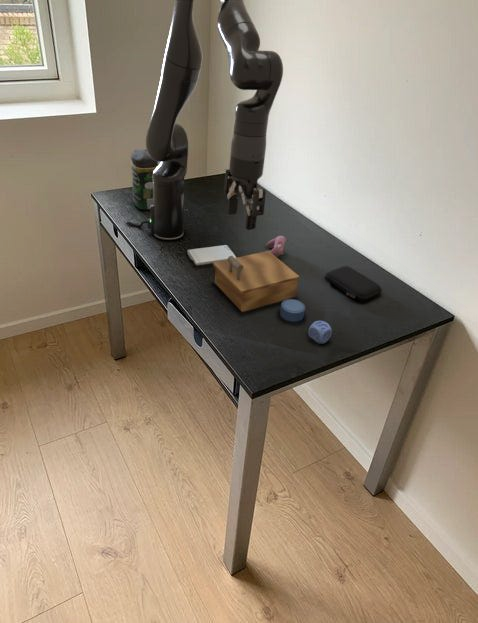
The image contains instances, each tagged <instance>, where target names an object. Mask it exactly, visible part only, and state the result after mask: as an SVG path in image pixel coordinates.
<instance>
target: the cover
mask: <svg viewBox="0 0 478 623" xmlns="http://www.w3.org/2000/svg"><path fill="white" fill-rule="evenodd" d="M269 251H270V250H265V251H261V252H256V253H252V254H247V255H243V256H238V257H236V258H234V257H233V256H229V257H228V259H227V260H224V261H220V262H215V263H212V266H213V267H214V268H215V270H216V269H217V270H218V271H219V272H220V273H221V274H222V275H223V276H224V277H225V278H226V279H227V280H228V281H229V282H230V283H231V284H232V285H233V286H234V287H235V288H236V289H237V290H238V291H239V292H240V293H241V294H244V293H248V292H251V291H255V290H259V289H263V288H266V287H270V286H274V285H278V284H282V283H285V282H289V281H293V280H297V279H299V280H300V275H298V273H296V272H295V271H293V269H291V268H290V267H289V266H287V265H286V264H285V263H284V262H283V261H282V260H280V259H279V257H275V256H274V255H273V254H272V253H271V252H269Z"/></svg>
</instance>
